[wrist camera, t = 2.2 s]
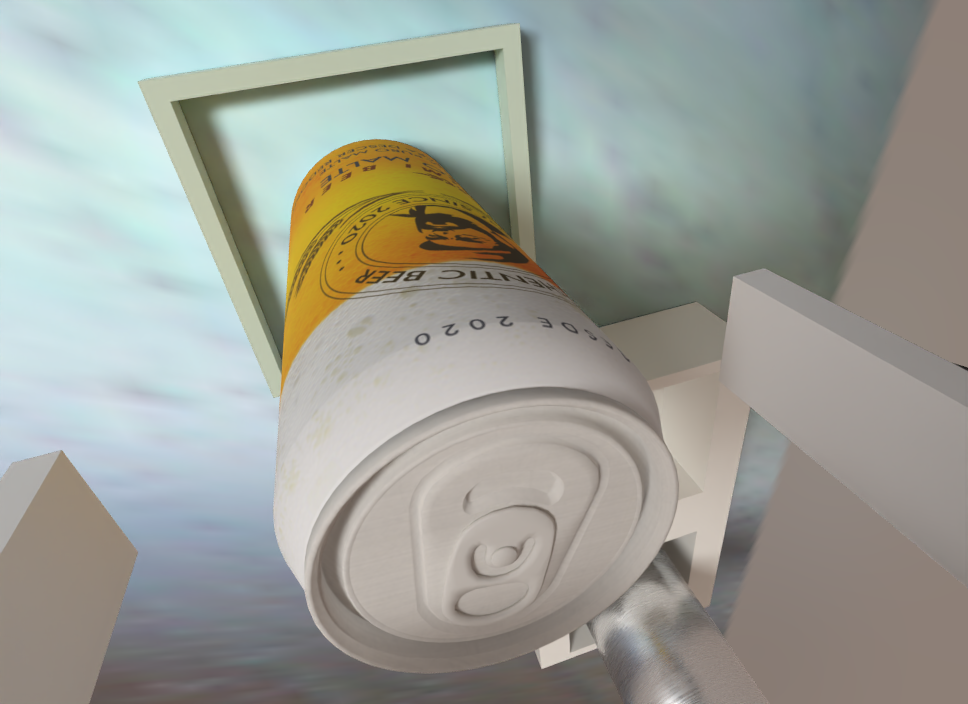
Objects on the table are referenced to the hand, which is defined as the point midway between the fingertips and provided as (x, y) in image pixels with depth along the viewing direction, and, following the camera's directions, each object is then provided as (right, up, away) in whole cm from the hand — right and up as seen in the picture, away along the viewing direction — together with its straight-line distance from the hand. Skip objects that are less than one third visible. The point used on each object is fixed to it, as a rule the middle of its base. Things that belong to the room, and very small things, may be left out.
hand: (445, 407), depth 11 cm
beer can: (-3, +6, +9) cm, 11 cm away
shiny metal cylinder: (+8, -10, +22) cm, 25 cm away
